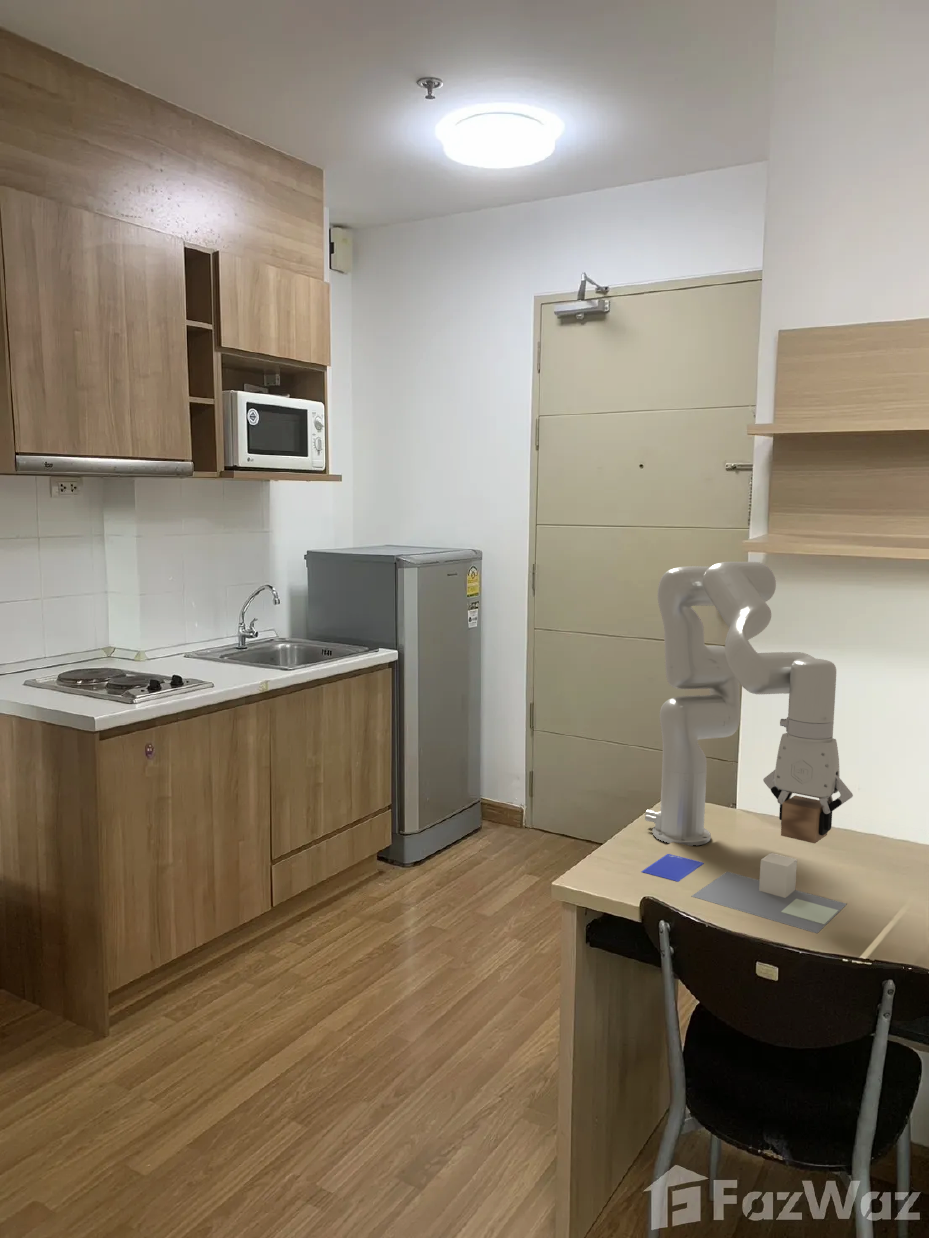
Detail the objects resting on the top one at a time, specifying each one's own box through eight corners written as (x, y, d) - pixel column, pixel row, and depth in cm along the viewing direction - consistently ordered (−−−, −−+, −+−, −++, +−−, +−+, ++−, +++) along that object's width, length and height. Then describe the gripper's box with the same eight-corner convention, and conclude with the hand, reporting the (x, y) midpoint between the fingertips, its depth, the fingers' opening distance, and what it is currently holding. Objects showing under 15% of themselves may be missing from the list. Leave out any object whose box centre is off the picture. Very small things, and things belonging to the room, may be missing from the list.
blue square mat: (666, 852, 192) (639, 870, 182) (704, 862, 187) (678, 881, 177) (666, 860, 192) (639, 878, 182) (704, 869, 187) (678, 889, 177)
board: (691, 900, 171) (691, 895, 171) (726, 875, 183) (727, 870, 183) (816, 937, 156) (817, 932, 156) (846, 907, 168) (847, 903, 168)
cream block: (759, 890, 174) (760, 859, 173) (769, 882, 178) (770, 852, 177) (785, 897, 171) (787, 866, 170) (795, 889, 174) (796, 859, 174)
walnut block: (780, 835, 163) (782, 802, 163) (793, 827, 168) (795, 795, 167) (814, 843, 160) (816, 809, 159) (827, 834, 164) (828, 802, 164)
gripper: (753, 725, 165) (749, 823, 166) (853, 741, 153) (847, 846, 155) (770, 718, 170) (765, 813, 172) (868, 733, 159) (861, 835, 161)
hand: (804, 828), depth 164 cm, fingers closed on walnut block, 6 cm apart
